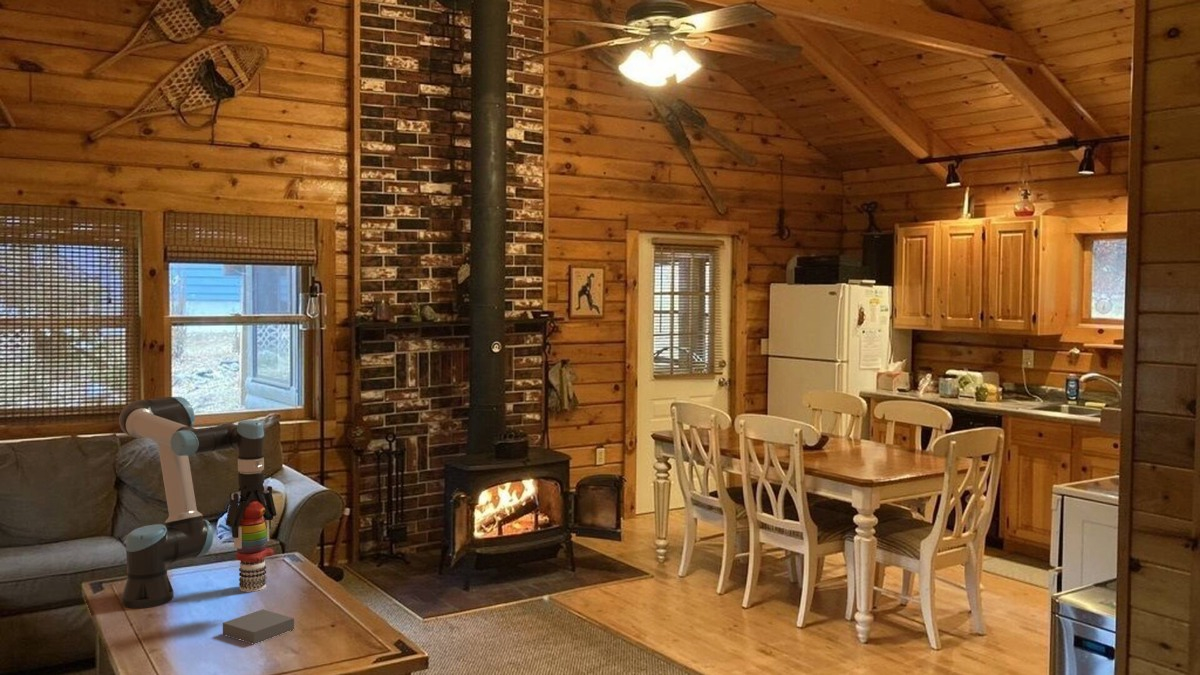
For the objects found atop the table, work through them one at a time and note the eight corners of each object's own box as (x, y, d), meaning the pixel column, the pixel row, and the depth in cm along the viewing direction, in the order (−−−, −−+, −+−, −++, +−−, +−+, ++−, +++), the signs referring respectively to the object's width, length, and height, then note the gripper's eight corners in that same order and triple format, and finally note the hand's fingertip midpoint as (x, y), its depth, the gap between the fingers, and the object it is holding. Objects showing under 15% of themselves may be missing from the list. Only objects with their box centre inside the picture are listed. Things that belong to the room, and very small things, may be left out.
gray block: (222, 636, 284) (222, 622, 284) (263, 622, 296) (262, 609, 295) (254, 646, 276) (254, 632, 276) (294, 631, 288) (294, 618, 288)
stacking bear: (257, 563, 294) (257, 504, 293) (227, 561, 296) (226, 502, 295) (276, 553, 305) (276, 496, 303) (247, 551, 307) (246, 495, 306)
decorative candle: (273, 586, 329) (272, 513, 327) (250, 594, 321) (249, 518, 319) (255, 582, 334) (254, 509, 332) (232, 589, 326) (231, 514, 324)
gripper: (227, 479, 287) (228, 554, 289) (288, 467, 306) (289, 538, 307) (211, 476, 291) (212, 550, 293) (272, 464, 310) (273, 534, 311)
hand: (251, 544), depth 300 cm, fingers closed on stacking bear, 9 cm apart
